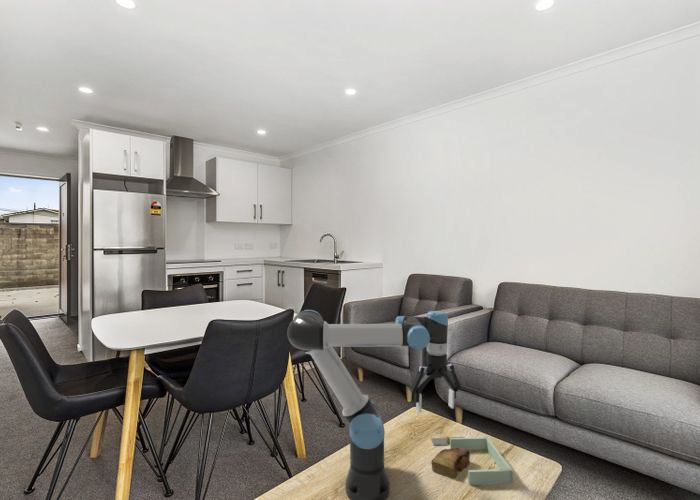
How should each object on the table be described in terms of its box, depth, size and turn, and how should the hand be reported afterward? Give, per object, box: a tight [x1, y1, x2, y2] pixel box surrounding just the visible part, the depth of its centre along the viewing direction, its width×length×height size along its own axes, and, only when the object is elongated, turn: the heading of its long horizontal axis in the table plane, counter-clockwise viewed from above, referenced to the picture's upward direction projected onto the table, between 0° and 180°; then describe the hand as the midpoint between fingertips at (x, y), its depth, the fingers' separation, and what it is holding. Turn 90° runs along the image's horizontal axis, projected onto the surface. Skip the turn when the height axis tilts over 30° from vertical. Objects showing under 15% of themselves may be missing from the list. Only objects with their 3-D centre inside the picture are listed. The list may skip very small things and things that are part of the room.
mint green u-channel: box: [449, 436, 514, 486], centre depth 137 cm, size 16×22×4 cm
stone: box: [431, 448, 471, 479], centre depth 136 cm, size 15×9×5 cm, turn 133°
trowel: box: [430, 436, 466, 446], centre depth 152 cm, size 14×4×2 cm, turn 91°
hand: (435, 408), depth 136 cm, fingers open, 13 cm apart
